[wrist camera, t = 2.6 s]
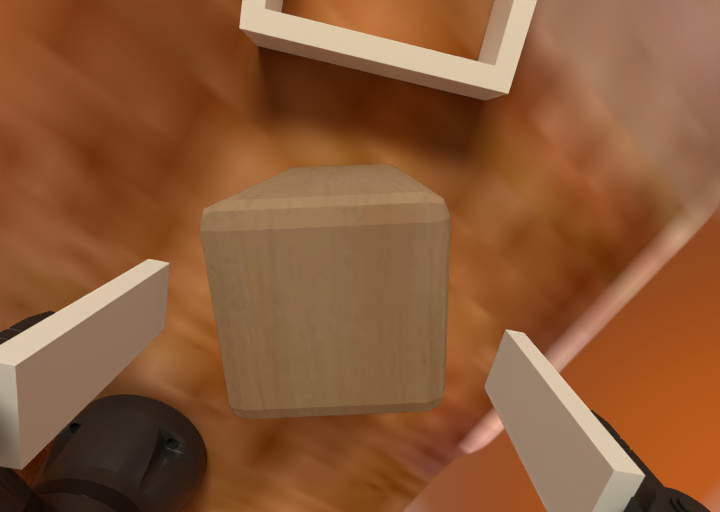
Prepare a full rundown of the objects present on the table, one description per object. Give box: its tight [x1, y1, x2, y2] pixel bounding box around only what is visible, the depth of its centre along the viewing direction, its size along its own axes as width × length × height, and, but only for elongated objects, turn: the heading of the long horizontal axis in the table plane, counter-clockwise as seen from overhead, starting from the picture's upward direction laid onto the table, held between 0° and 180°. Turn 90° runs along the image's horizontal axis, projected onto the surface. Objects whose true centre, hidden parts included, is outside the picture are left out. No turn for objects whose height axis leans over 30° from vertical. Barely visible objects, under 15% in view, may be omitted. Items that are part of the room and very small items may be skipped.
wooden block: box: [200, 164, 450, 419], centre depth 25 cm, size 10×10×20 cm
